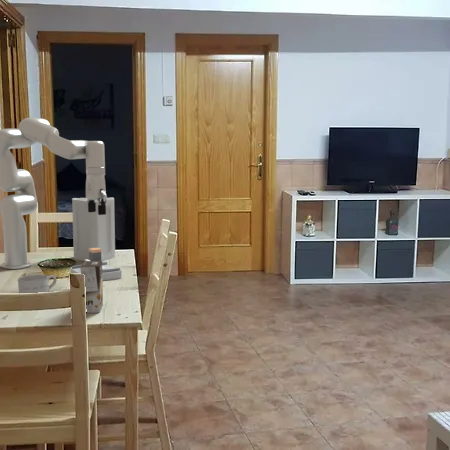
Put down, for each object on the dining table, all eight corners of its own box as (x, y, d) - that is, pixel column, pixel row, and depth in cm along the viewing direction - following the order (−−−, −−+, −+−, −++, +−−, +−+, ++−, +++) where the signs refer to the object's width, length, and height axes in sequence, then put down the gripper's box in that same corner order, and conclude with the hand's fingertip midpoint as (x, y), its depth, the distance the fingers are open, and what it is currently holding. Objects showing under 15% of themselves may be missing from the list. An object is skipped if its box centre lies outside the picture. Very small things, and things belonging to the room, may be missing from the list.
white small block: (84, 268, 262) (84, 259, 261) (99, 266, 265) (99, 257, 265) (91, 271, 256) (91, 262, 256) (106, 269, 260) (105, 261, 259)
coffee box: (100, 313, 212) (99, 266, 209) (81, 313, 211) (79, 266, 208) (103, 305, 221) (102, 260, 218) (84, 305, 220) (83, 260, 217)
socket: (69, 275, 263) (69, 265, 263) (105, 270, 272) (105, 261, 272) (84, 283, 250) (84, 273, 250) (121, 278, 259) (121, 268, 259)
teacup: (21, 303, 221) (20, 281, 220) (15, 296, 231) (15, 274, 229) (61, 299, 228) (60, 277, 226) (54, 292, 237) (53, 271, 236)
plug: (89, 269, 274) (88, 248, 273) (98, 268, 277) (97, 247, 275) (92, 271, 271) (92, 250, 270) (101, 269, 273) (101, 249, 272)
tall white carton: (73, 263, 286) (71, 202, 281) (74, 256, 300) (72, 198, 295) (116, 261, 290) (115, 201, 285) (114, 255, 304) (113, 197, 299)
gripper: (78, 170, 261) (79, 211, 263) (96, 173, 247) (97, 216, 249) (95, 170, 265) (96, 210, 268) (113, 172, 251) (114, 215, 254)
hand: (97, 213), depth 259 cm, fingers open, 9 cm apart
